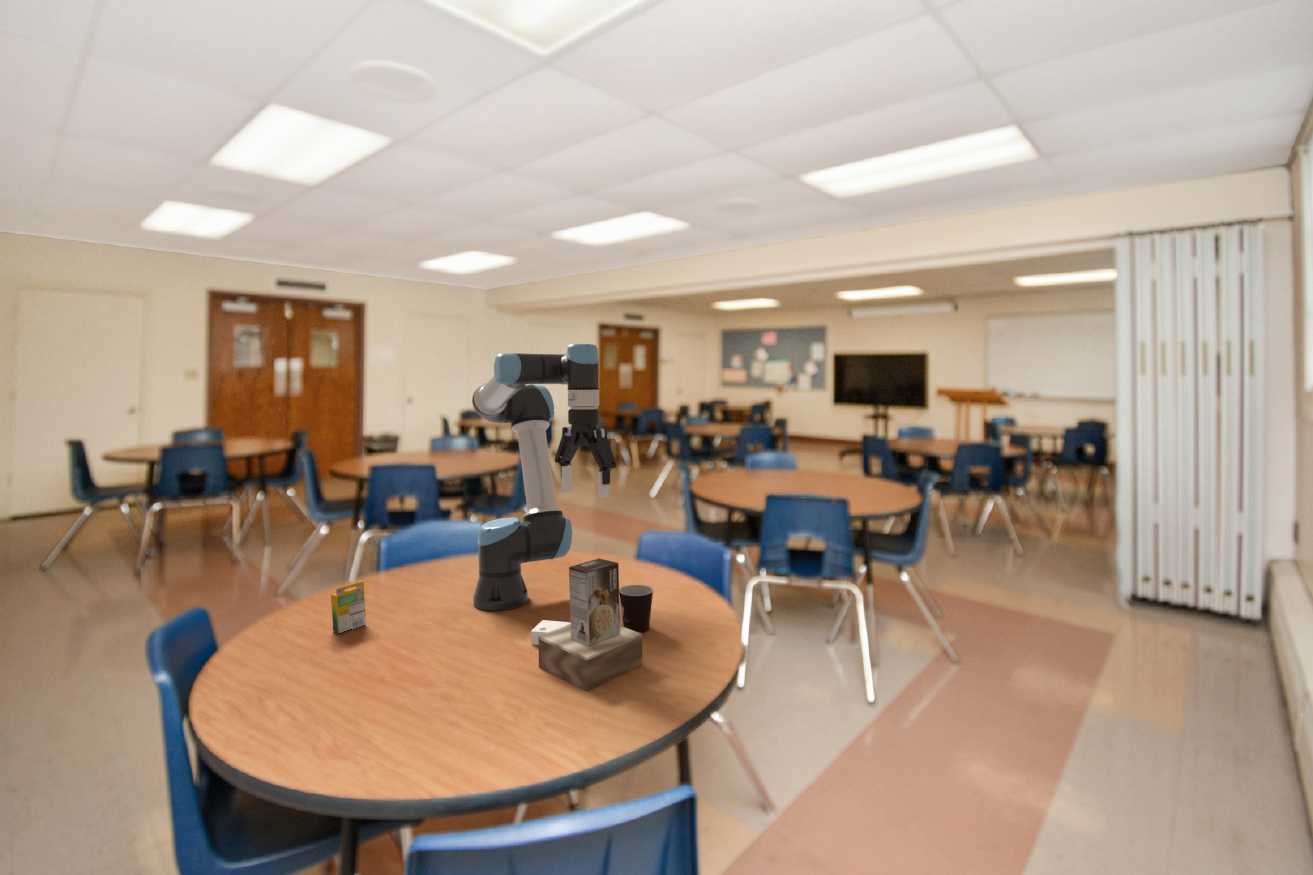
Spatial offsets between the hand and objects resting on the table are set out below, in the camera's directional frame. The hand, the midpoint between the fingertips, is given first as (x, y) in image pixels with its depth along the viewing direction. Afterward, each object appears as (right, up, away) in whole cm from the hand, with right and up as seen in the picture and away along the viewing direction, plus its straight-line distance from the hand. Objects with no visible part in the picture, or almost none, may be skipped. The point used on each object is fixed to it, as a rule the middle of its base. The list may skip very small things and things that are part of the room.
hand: (584, 494), depth 152 cm
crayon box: (-61, -35, +6) cm, 70 cm away
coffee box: (+4, -29, -18) cm, 35 cm away
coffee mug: (+13, -34, +6) cm, 37 cm away
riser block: (+3, -36, -16) cm, 40 cm away
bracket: (-5, -36, -2) cm, 36 cm away
